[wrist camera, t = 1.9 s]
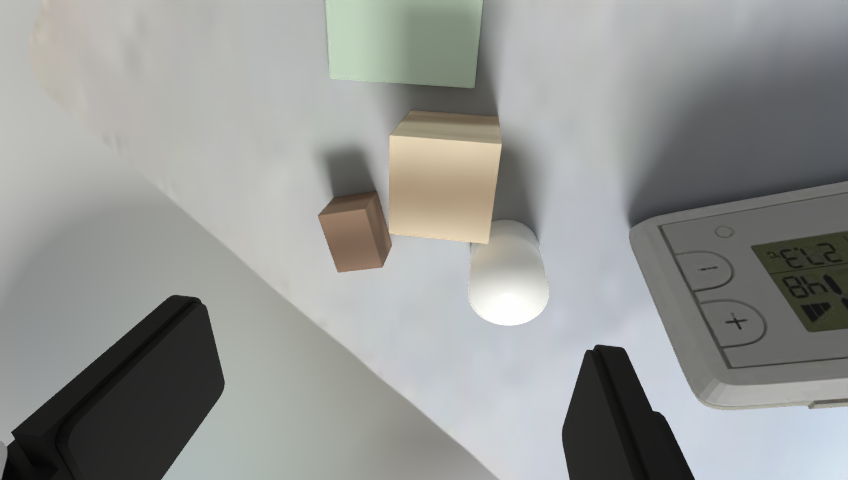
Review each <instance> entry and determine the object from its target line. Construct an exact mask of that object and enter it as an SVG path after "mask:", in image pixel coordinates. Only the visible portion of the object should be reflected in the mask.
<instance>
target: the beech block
mask: <svg viewBox="0 0 848 480" xmlns="http://www.w3.org/2000/svg"><path fill="white" fill-rule="evenodd" d="M501 146H502V142H501V134H500V125H499V117H498V116H485V115H471V114H457V113H444V112H430V111H416V110H411V111H410V112H409V113H408V114H407V115H406V117H405V118H404V119H403V120H402V121H401V122H400V124H399V125H398V126H397V127H396V128H395V129H394V131H393V132H392V133H391V134H390V143H389V234H396V235H405V236H415V237H425V238H434V239H444V240H454V241H463V242H473V243H483V244H488V242H489V234H490V227H491V220H492V212H493V205H494V198H495V190H496V183H497V176H498V168H499V161H500V154H501Z"/></svg>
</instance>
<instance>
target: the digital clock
mask: <svg viewBox="0 0 848 480" xmlns="http://www.w3.org/2000/svg"><path fill="white" fill-rule="evenodd" d="M629 239H630V244H631V247H632V250H633V253H634V255H635V257H636V260H637V262H638V265H639V267H640V270H641V272H642V274H643V277H644V279H645V282H646V284H647V286H648V289H649V291H650V294H651V296H652V299H653V301H654V303H655V306H656V308H657V311H658V313H659V316H660V318H661V320H662V323H663V325H664V328H665V330H666V332H667V335H668V337H669V340H670V342H671V345H672V347H673V349H674V352H675V354H676V357H677V359H678V362H679V364H680V366H681V369H682V371H683V373H684V375H685V377H686V380H687V382H688V384H689V386H690V388H691V390H692V391H693V393H694V395H695V396H696V398H697V399H698V400H699V401H700V402H701V403H702V404H704V405H705V406H708V407H710V408H713V409H719V410H742V409H757V408H771V407H786V406H808V407H809V409H817V408H832V407H846V406H848V181H845V182H839V183H834V184H828V185H823V186H817V187H812V188H806V189H800V190H795V191H789V192H784V193H778V194H773V195H767V196H762V197H756V198H751V199H745V200H739V201H734V202H728V203H723V204H717V205H712V206H706V207H701V208H695V209H690V210H685V211H679V212H674V213H669V214H664V215H659V216H655V217H652V218H649V219H647V220H645V221H643V222H641V223H639V224H637V225H635V226H633V227H632V228H631V229H630V231H629Z"/></svg>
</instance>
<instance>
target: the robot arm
mask: <svg viewBox="0 0 848 480" xmlns="http://www.w3.org/2000/svg"><path fill="white" fill-rule="evenodd" d="M224 384H225V382H224V377H223V373H222V368H221V365H220V360H219V356H218V352H217V348H216V344H215V340H214V335H213V331H212V327H211V323H210V319H209V315H208V311H207V308H206V306H205V305H204V304H202V303H201V300H200V299H199V298H196V297H189V296H180V295H173V296H170V297H169V298H167V299H166V300H165V301H164V302H163V303H162V304H160V305H159V306H158V307H157V308H156V309H155V310H153V311H152V312H151V313H150V314H149V315H148V316H146V317H145V318H144V319H143V320H142V321H141V322H139V323H138V324H137V325H136V326H135V327H134V328H132V330H130V331H129V332H128V333H127V334H125V335H124V336H123V337H122V338H121V339H120V340H119V341H117V342H116V343H115V344H114V345H113V346H111V347H110V348H109V349H108V350H107V351H106V352H104V353H103V354H102V355H101V356H100V357H99V358H97V359H96V360H95V361H94V362H93V363H91V364H90V365H89V366H88V367H87V368H86V369H84V371H82V372H81V373H80V374H79V375H77V376H76V377H75V378H74V379H73V380H72V381H70V382H69V383H68V384H67V385H66V386H65V387H64V388H62V389H61V390H60V391H59V392H58V393H56V394H55V395H54V396H53V397H52V398H51V399H49V400H48V401H47V402H46V403H45V404H44V405H43V406H41V407H40V408H39V409H38V410H37V411H36V412H34V413H33V414H32V415H31V416H30V417H28V418H27V419H26V420H25V421H24V422H23V423H21V424H20V425H19V426H18V427H17V428H16V429H14V430H13V431H12V432H11V433H12V434H13V436H14V438H15V440H14V441H13V442H12V443H10V444H9V445H8V446H7V447H6V446H5V445H4V443H3V442H1V441H0V480H161V479H162V478H163V476H164V475H165V473H166V472H167V471H168V469H169V468H170V466H171V465H172V464H173V462H174V461H175V459H176V458H177V456H178V455H179V454H180V452H181V451H182V450H183V448H184V447H185V445H186V444H187V442H188V441H189V440H190V438H191V437H192V436H193V434H194V433H195V431H196V430H197V429H198V427H199V425H200V424H201V423H202V421H203V420H204V419H205V417H206V416H207V414H208V413H209V411H210V410H211V409H212V407H213V406H214V405H215V403H216V402H217V400H218V399H219V398H220V396H221V394H222V392H223V390H224ZM562 442H563V448H564V453H565V458H566V463H567V468H568V473H569V478H570V480H695V479H694V477H693V474H692V472H691V470H690V468H689V466H688V464H687V462H686V460H685V458H684V456H683V453H682V451H681V449H680V447H679V445H678V443H677V441H676V439H675V437H674V435H673V432H672V430H671V428H670V426H669V424H668V422H667V421H666V419H665V417H664V416H663V415H662V414H661V413H660V412H655V411H653V410H652V408H651V406H650V404H649V401H648V399H647V397H646V395H645V392H644V390H643V388H642V386H641V384H640V381H639V379H638V377H637V375H636V373H635V370H634V368H633V366H632V364H631V361H630V359H629V357H628V355H627V353H626V351H625V349H624V348H622V347H614V346H606V345H596V346H595V347H594V349H593V350H587V351H586V352H585V355H584V358H583V362H582V365H581V368H580V372H579V375H578V378H577V382H576V385H575V388H574V392H573V395H572V398H571V402H570V405H569V408H568V412H567V415H566V418H565V422H564V425H563V429H562Z"/></svg>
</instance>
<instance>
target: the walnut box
mask: <svg viewBox="0 0 848 480" xmlns="http://www.w3.org/2000/svg"><path fill="white" fill-rule="evenodd" d="M318 218H319V221H320V223H321V226H322V229H323V232H324V235H325V238H326V240H327V243H328V246H329V249H330V252H331V254H332V257H333V260H334V263H335V266H336V269H337V271H338V272H347V271H355V270H364V269H373V268H382V267H383V265H384V263H385V260H386V258H387V256H388V253H389V251H390V249H391V246H392V244H391V240H390V236H389V233H388V229H387V226H386V222H385V218H384V215H383V211H382V208H381V204H380V200H379V197H378V193H377V191H374V192H368V193H361V194H355V195H349V196H342V197H336V198H333V199H332V200H331V202H330V203H329V204H328V205H327V206H326V207H325V208H324V209H323V211H322V212H321V213H320V214H319V215H318Z"/></svg>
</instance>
